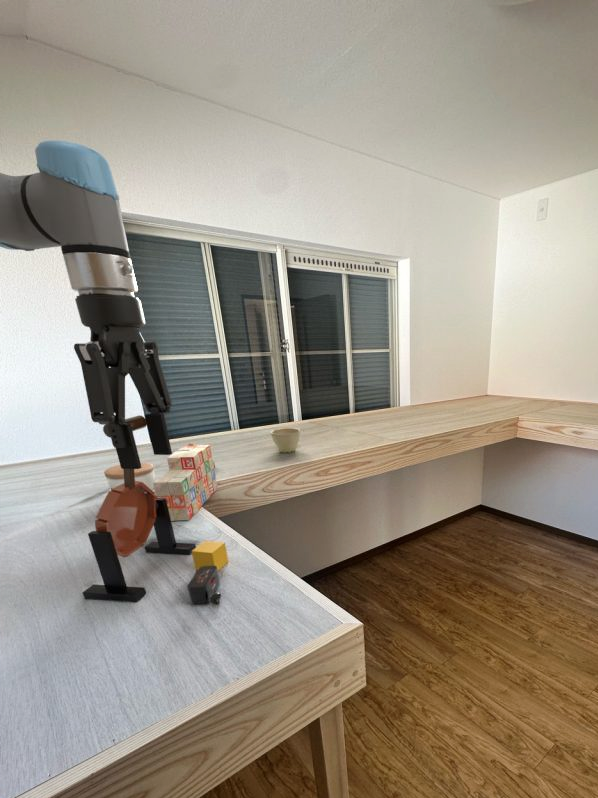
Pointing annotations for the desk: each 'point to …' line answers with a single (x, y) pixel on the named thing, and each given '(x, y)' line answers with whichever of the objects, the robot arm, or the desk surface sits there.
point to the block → (210, 555)
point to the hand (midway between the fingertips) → (148, 460)
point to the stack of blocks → (187, 481)
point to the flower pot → (286, 439)
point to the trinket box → (143, 474)
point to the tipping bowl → (128, 507)
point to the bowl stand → (111, 565)
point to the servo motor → (204, 586)
